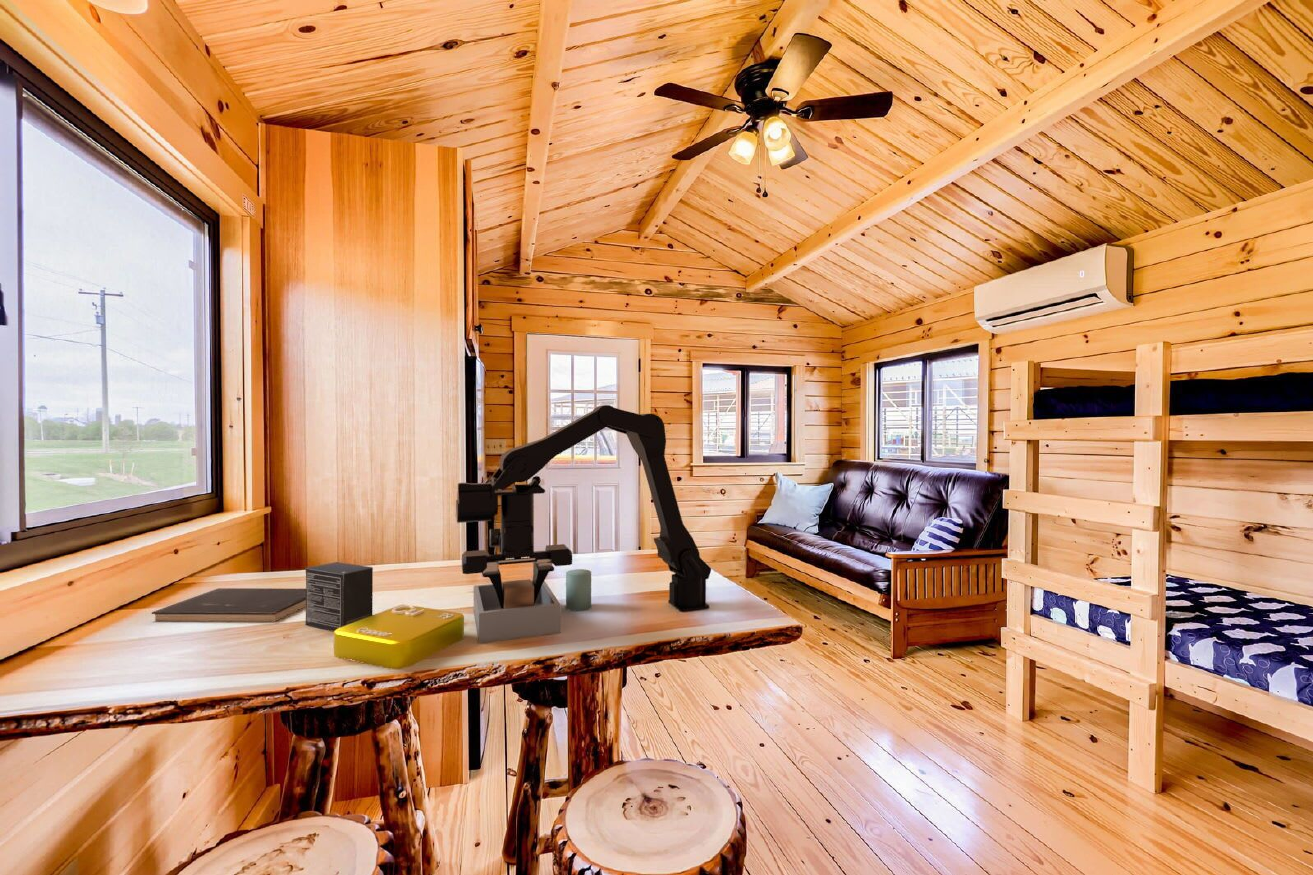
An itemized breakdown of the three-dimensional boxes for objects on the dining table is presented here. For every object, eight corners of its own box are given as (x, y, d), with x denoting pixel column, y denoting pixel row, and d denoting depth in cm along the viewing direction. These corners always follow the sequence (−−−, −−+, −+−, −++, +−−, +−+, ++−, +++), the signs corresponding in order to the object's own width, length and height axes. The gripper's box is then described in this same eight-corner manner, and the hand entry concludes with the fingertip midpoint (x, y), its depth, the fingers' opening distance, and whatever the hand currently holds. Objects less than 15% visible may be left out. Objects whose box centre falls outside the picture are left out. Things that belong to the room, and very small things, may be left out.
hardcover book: (274, 625, 103) (274, 612, 103) (151, 624, 103) (151, 612, 103) (327, 598, 119) (327, 587, 119) (220, 598, 119) (220, 587, 119)
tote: (543, 603, 114) (543, 579, 114) (560, 632, 98) (560, 604, 98) (473, 611, 109) (473, 585, 109) (479, 643, 93) (479, 613, 93)
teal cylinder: (587, 602, 115) (587, 568, 115) (593, 609, 110) (594, 574, 110) (563, 604, 113) (563, 570, 113) (568, 612, 109) (568, 576, 108)
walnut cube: (529, 606, 103) (529, 579, 103) (534, 614, 98) (533, 586, 98) (501, 609, 101) (501, 581, 101) (504, 618, 96) (504, 589, 96)
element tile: (327, 658, 88) (327, 628, 87) (402, 626, 102) (402, 600, 101) (401, 673, 82) (401, 641, 82) (469, 638, 96) (469, 610, 96)
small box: (375, 622, 103) (375, 565, 103) (342, 634, 97) (342, 574, 97) (337, 614, 107) (337, 560, 107) (303, 625, 101) (303, 567, 101)
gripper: (560, 510, 110) (560, 589, 110) (460, 515, 104) (460, 599, 104) (572, 518, 100) (573, 605, 100) (462, 525, 93) (462, 618, 93)
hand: (517, 606), depth 100 cm, fingers closed on walnut cube, 5 cm apart
